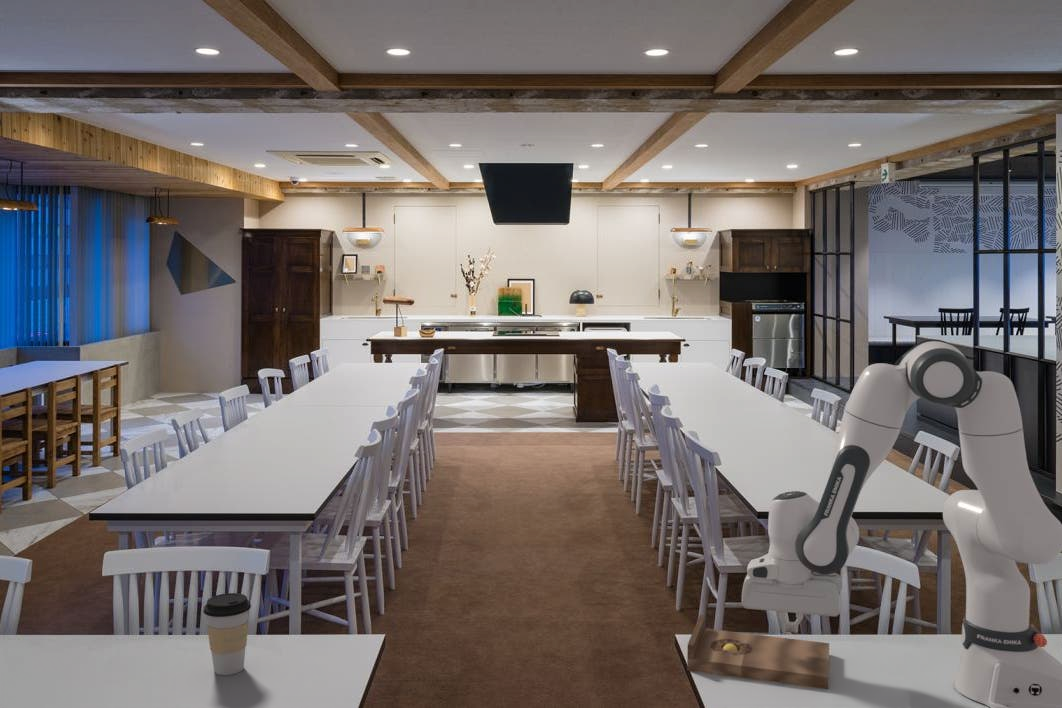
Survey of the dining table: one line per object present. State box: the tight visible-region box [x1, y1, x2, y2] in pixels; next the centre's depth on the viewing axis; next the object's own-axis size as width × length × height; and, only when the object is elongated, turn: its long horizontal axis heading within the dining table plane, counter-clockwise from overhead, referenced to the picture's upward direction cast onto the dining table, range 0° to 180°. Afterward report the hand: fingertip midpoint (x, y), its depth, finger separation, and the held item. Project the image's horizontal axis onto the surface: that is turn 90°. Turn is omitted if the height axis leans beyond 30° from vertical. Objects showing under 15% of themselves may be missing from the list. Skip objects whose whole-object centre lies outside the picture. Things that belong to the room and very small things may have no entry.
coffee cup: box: [202, 592, 252, 676], centre depth 189 cm, size 9×9×15 cm
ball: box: [723, 644, 738, 651], centre depth 195 cm, size 3×3×3 cm
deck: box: [686, 614, 830, 690], centre depth 193 cm, size 28×18×6 cm, turn 71°
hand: (790, 631), depth 192 cm, fingers closed
